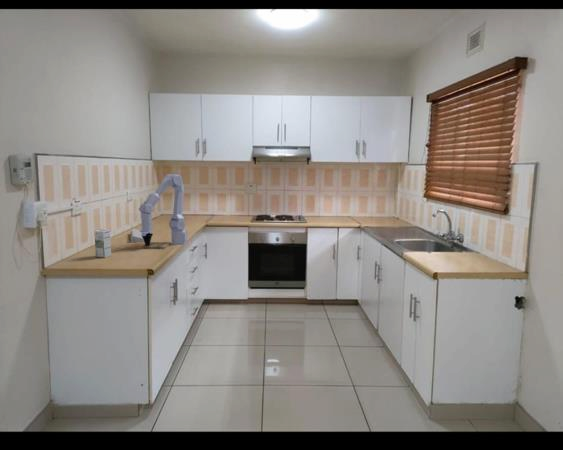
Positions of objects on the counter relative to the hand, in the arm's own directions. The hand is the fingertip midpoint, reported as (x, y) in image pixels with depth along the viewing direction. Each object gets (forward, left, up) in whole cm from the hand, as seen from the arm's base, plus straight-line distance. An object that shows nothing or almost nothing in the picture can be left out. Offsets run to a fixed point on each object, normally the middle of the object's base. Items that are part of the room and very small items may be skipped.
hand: (147, 245), depth 237 cm
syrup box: (+17, +23, -2) cm, 29 cm away
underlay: (-4, -4, -1) cm, 6 cm away
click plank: (-1, -4, -1) cm, 4 cm away
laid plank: (-8, -4, -1) cm, 9 cm away
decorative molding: (+16, -34, -2) cm, 38 cm away
